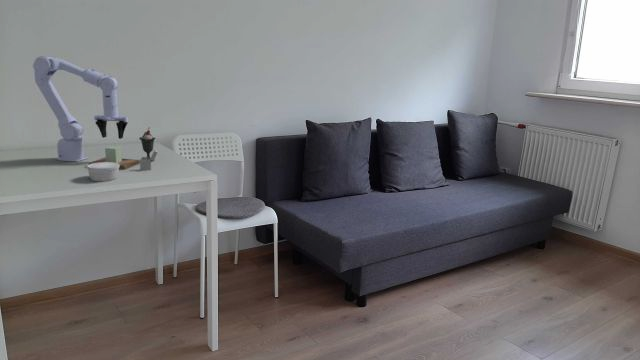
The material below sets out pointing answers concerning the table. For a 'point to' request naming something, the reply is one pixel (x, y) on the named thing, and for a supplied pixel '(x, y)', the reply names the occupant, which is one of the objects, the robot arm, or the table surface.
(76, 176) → the table surface
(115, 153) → the block
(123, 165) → the board
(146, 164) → the lighter
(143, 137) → the sundae
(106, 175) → the ramekin
